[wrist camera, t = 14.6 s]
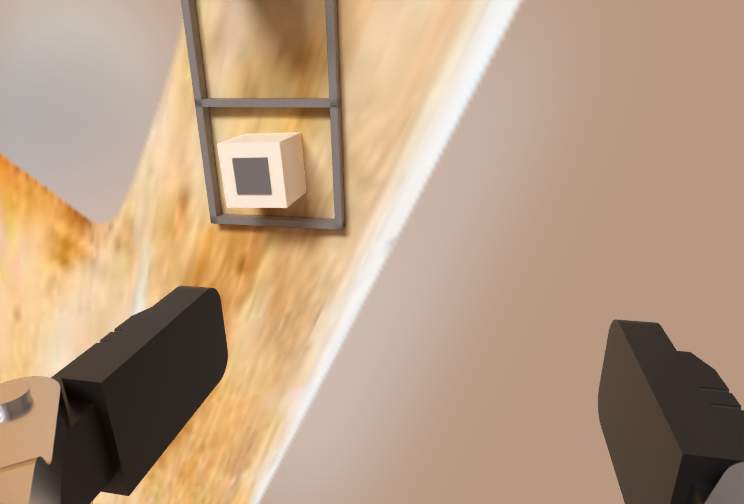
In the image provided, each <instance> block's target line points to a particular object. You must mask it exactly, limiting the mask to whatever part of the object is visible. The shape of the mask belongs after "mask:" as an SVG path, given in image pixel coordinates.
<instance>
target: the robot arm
mask: <svg viewBox="0 0 744 504" xmlns="http://www.w3.org/2000/svg"><path fill="white" fill-rule="evenodd" d="M227 359H228V350H227V342H226V335H225V328H224V320H223V313H222V305H221V299H220V295H219V293H218V291H217V290H216V289H214V288H205V287H192V286H179V287H177V288H176V289H174V290H173V291H172V292H171V293H169V294H168V295H167V296H165V297H164V298H163V299H162V300H160V301H159V302H158V303H156V304H155V305H154V306H153V307H151V308H149V309H146V310H144V311H142V312H140V313H138V314H135V315H133V316H131V317H130V318H129V319H127V320H126V321H125V322H123V323H122V324H121V325H119V326H118V327H117V328H115V329H114V332H110V333H109V334H108V335H106V336H105V337H104V338H102V339H101V340H100V343H96V344H95V345H93V346H92V347H91V348H89V349H88V350H87V351H85V352H84V353H83V354H81V355H80V356H79V357H77V358H76V359H75V360H74V361H72V362H71V363H70V364H68V365H67V366H66V367H64V368H63V369H62V370H60V371H59V372H58V373H57V374H55V375H54V376H53V377H51V378H49V377H42V376H32V377H24V378H19V379H14V380H11V381H7V382H4V383H1V384H0V504H93V502H92V501H93V500H94V498H95V497H96V496H97V495H98V494H99V493H100V492H107V493H114V494H120V495H126V496H129V495H130V494H131V493H132V491H133V490H134V489H135V488H136V486H137V485H138V484H139V483H140V481H141V480H142V479H143V478H144V476H145V475H146V474H147V473H148V471H149V470H150V469H151V467H152V466H153V465H154V464H155V462H156V461H157V460H158V459H159V457H160V456H161V455H162V454H163V452H164V451H165V450H166V449H167V447H168V446H169V445H170V443H171V442H172V441H173V440H174V438H175V437H176V436H177V435H178V433H179V432H180V431H181V430H182V428H183V427H184V426H185V424H186V423H187V422H188V421H189V419H190V418H191V417H192V416H193V414H194V413H195V412H196V411H197V409H198V408H199V407H200V406H201V404H202V403H203V402H204V400H205V399H206V398H207V397H208V395H209V394H210V393H211V392H212V390H213V389H214V388H215V387H216V385H217V384H218V383H219V381H220V380H221V379H222V377H223V375H224V372H225V369H226V366H227ZM598 412H599V419H600V423H601V427H602V430H603V434H604V437H605V440H606V444H607V447H608V450H609V453H610V456H611V460H612V463H613V466H614V469H615V472H616V476H617V479H618V482H619V486H620V489H621V492H622V495H623V498H624V502H625V504H744V411H742V410H741V405H740V404H739V403H738V401H737V400H736V398H735V397H734V396H733V394H732V393H729V389H728V387H727V386H726V385H725V383H724V382H723V381H722V379H721V378H720V376H719V375H718V373H717V372H716V371H715V369H713V368H712V367H710V366H709V365H708V364H706V363H705V362H703V361H702V360H701V359H699V358H698V357H696V356H695V355H694V354H692V353H691V352H683V351H682V352H681V351H676V349H675V347H674V346H673V344H672V343H671V341H670V339H669V338H668V336H667V335H666V333H665V332H664V330H663V328H662V327H661V325H660V324H658V323H652V322H639V321H627V320H613V321H612V323H611V326H610V329H609V334H608V339H607V345H606V351H605V357H604V363H603V368H602V374H601V380H600V386H599V394H598Z"/></svg>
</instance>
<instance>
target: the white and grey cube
mask: <svg viewBox="0 0 744 504" xmlns="http://www.w3.org/2000/svg"><path fill="white" fill-rule="evenodd" d="M217 147H218V154H219V160H220V167H221V173H222V179H223V186H224V192H225V199H226V205H227V208H287V207H289V206H290V205H291V204H292V203H294V202H295V201H296V200H297V199H299V198H300V197H301V196H302V195H303V194H305V193H306V192H307V188H306V178H305V168H304V158H303V148H302V138H301V132H296V133H257V134H242V135H240V136H237V137H234V138H231V139H228V140H225V141H223V142H220V143H217Z"/></svg>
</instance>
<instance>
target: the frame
mask: <svg viewBox="0 0 744 504" xmlns="http://www.w3.org/2000/svg"><path fill="white" fill-rule="evenodd" d="M181 4H182V11H183V19H184V26H185V33H186V41H187V48H188V56H189V63H190V70H191V78H192V85H193V93H194V100H195V107H196V115H197V122H198V130H199V137H200V144H201V152H202V159H203V167H204V174H205V181H206V189H207V196H208V204H209V211H210V218H211V223H214V224H235V225H255V226H275V227H296V228H316V229H336V230H342V229H343V228H344V227H345V210H344V183H343V156H342V129H341V102H340V75H339V48H338V21H337V0H325V7H326V30H327V52H328V75H329V97H330V98H207V93H206V85H205V77H204V69H203V61H202V53H201V46H200V38H199V30H198V22H197V14H196V6H195V0H181ZM208 107H328V108H330V120H331V143H332V165H333V188H334V210H335V219H324V218H302V217H280V216H258V215H236V214H222V212H221V204H220V196H219V188H218V180H217V172H216V164H215V156H214V148H213V140H212V133H211V125H210V117H209V109H208Z"/></svg>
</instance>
